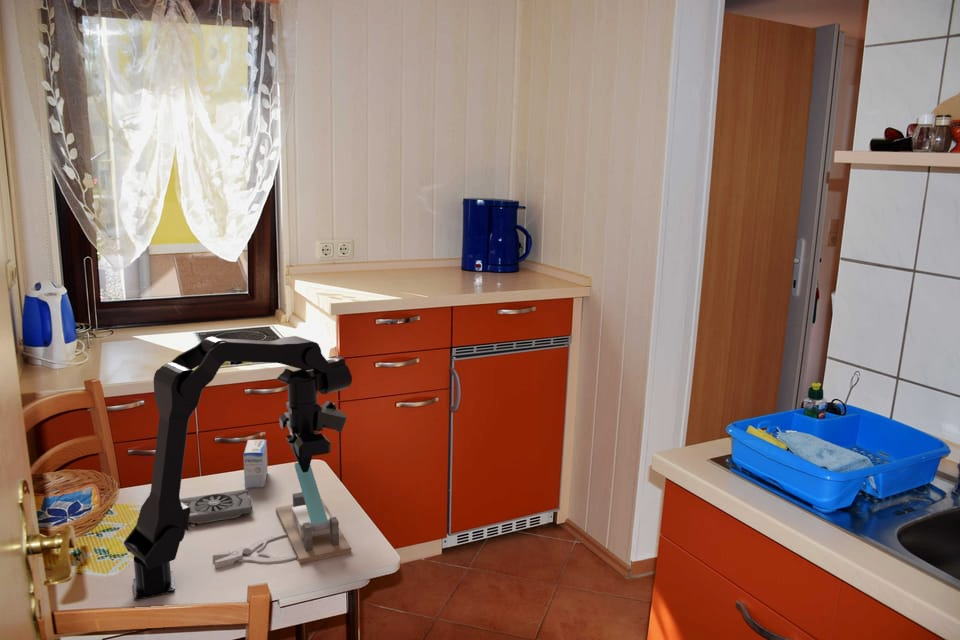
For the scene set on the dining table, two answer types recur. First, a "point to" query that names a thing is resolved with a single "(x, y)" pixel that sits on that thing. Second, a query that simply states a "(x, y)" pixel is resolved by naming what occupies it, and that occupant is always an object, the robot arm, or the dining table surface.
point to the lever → (312, 499)
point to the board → (311, 534)
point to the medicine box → (255, 463)
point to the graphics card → (217, 506)
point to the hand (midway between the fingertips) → (305, 471)
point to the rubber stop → (298, 499)
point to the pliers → (237, 555)
